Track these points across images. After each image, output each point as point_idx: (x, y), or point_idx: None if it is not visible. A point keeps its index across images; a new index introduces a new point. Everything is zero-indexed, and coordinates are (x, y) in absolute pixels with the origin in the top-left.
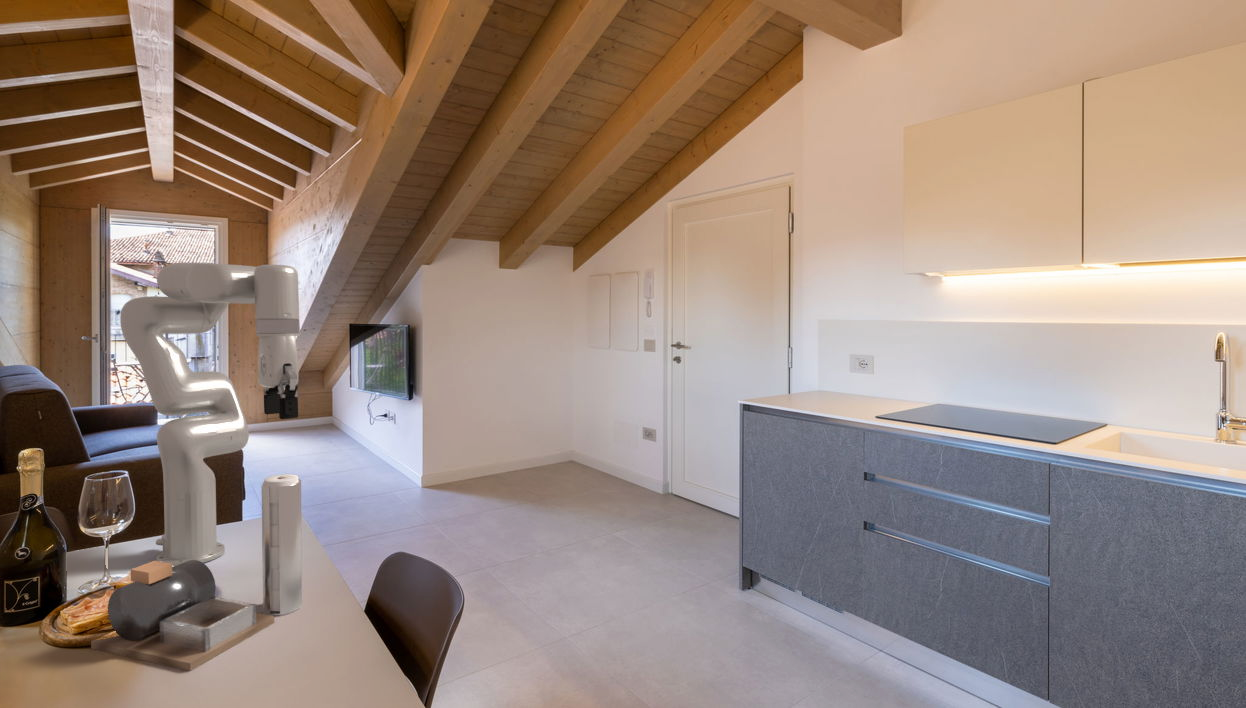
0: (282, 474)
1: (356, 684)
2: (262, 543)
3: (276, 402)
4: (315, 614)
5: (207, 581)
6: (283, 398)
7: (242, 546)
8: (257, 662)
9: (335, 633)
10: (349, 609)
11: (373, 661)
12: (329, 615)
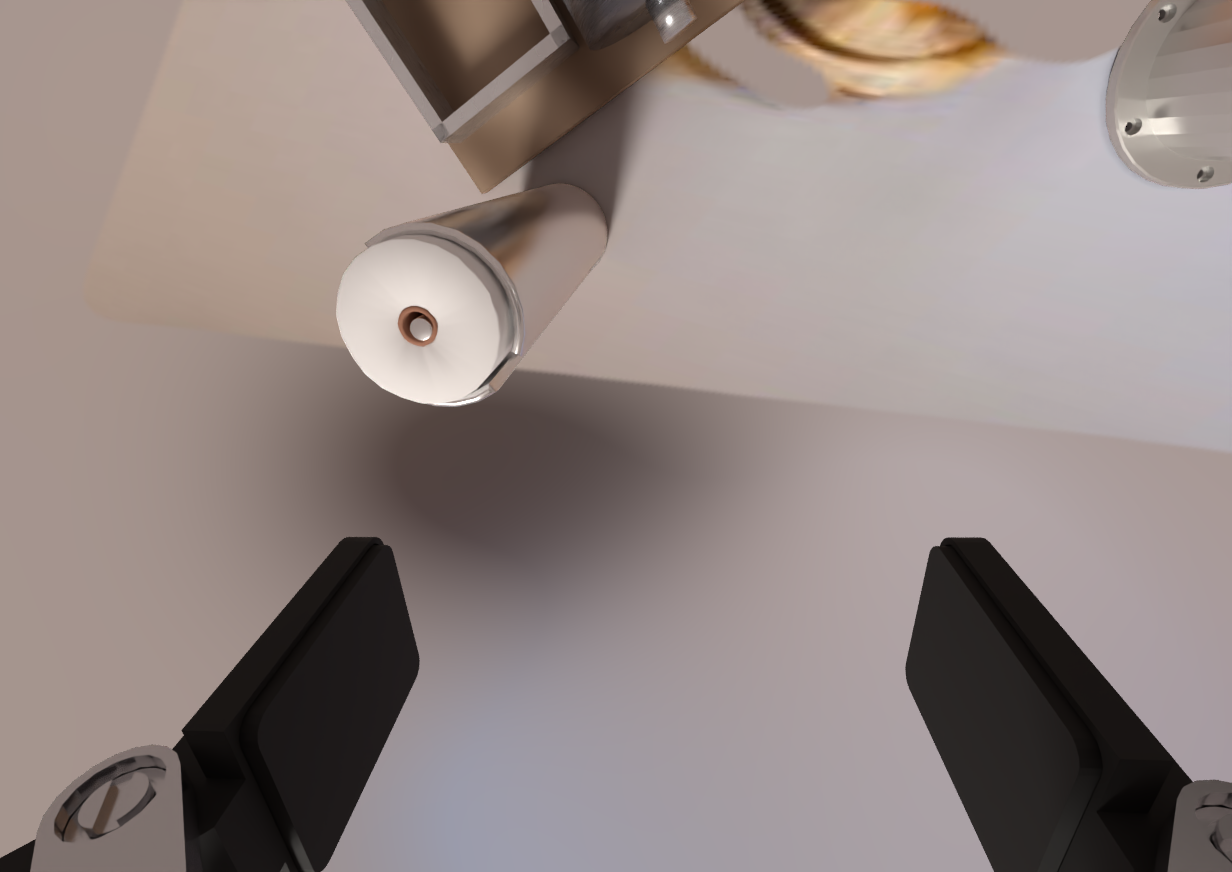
0: (494, 351)
1: (140, 257)
2: (514, 197)
3: (972, 746)
4: None
5: (575, 14)
6: (207, 767)
7: (1160, 249)
8: (303, 110)
9: None
10: None
11: (212, 312)
12: None
